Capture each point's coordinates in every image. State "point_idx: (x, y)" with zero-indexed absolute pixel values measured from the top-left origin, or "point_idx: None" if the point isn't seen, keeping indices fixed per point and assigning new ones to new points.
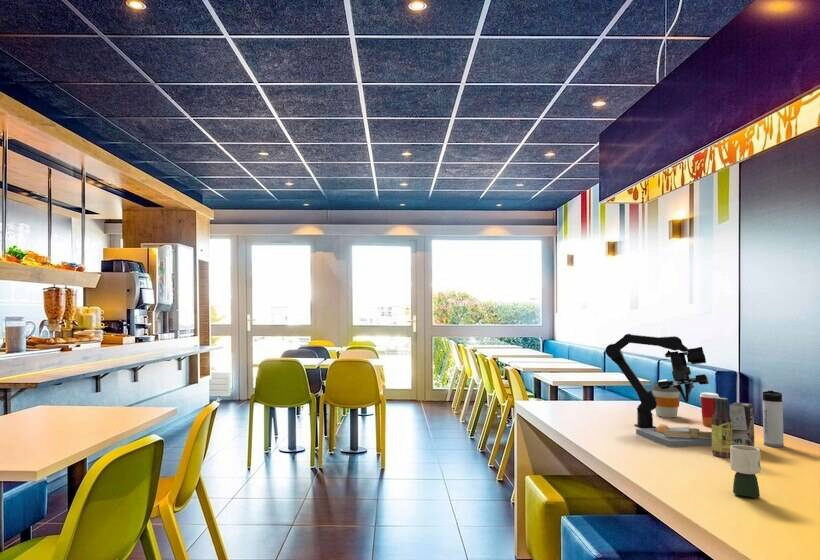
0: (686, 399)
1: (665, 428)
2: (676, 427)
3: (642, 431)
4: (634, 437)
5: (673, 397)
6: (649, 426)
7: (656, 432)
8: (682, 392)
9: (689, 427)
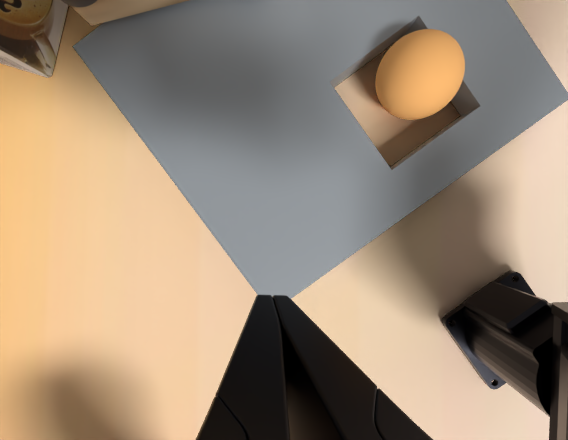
0: (273, 316)
1: (414, 31)
2: (339, 263)
3: (531, 39)
4: (547, 9)
5: None
6: (483, 289)
7: None
8: (370, 430)
9: None
